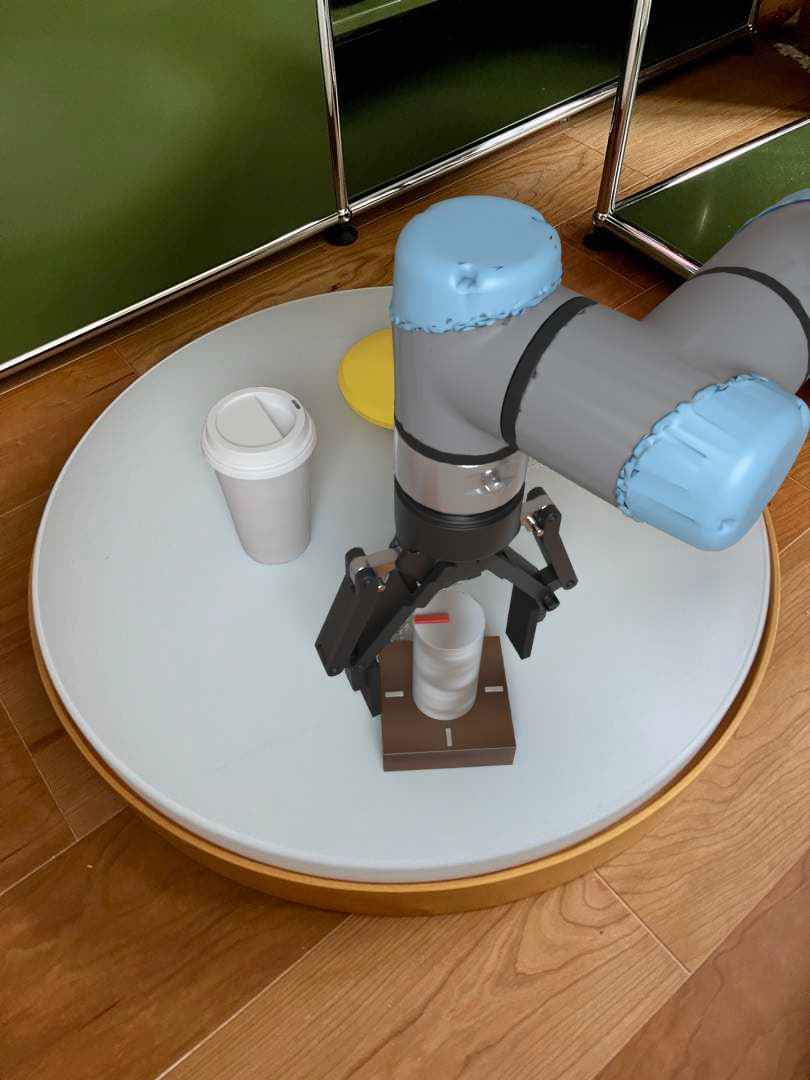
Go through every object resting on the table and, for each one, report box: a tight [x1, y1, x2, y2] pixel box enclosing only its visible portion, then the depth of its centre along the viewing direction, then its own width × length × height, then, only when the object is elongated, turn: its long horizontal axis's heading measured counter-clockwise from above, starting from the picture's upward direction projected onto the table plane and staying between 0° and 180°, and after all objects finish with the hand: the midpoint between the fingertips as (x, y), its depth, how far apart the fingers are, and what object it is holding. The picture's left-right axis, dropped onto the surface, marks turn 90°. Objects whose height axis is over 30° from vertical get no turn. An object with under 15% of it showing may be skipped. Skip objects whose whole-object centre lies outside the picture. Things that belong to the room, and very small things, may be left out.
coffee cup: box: [200, 386, 318, 565], centre depth 78 cm, size 10×10×15 cm
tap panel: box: [377, 635, 517, 773], centre depth 71 cm, size 10×10×3 cm
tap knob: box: [412, 590, 486, 720], centre depth 66 cm, size 5×5×10 cm
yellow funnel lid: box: [337, 327, 395, 431], centre depth 94 cm, size 16×16×7 cm
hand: (445, 672), depth 68 cm, fingers open, 12 cm apart
